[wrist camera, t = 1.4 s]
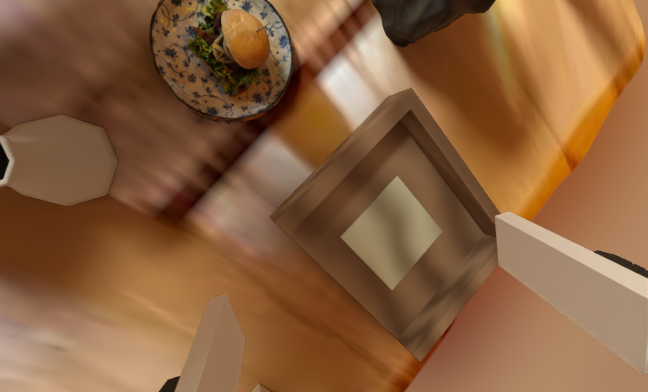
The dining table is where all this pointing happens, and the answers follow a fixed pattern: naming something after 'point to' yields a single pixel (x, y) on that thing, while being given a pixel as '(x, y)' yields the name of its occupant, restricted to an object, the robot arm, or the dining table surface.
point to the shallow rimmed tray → (398, 222)
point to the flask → (57, 160)
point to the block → (260, 389)
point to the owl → (423, 16)
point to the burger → (222, 56)
